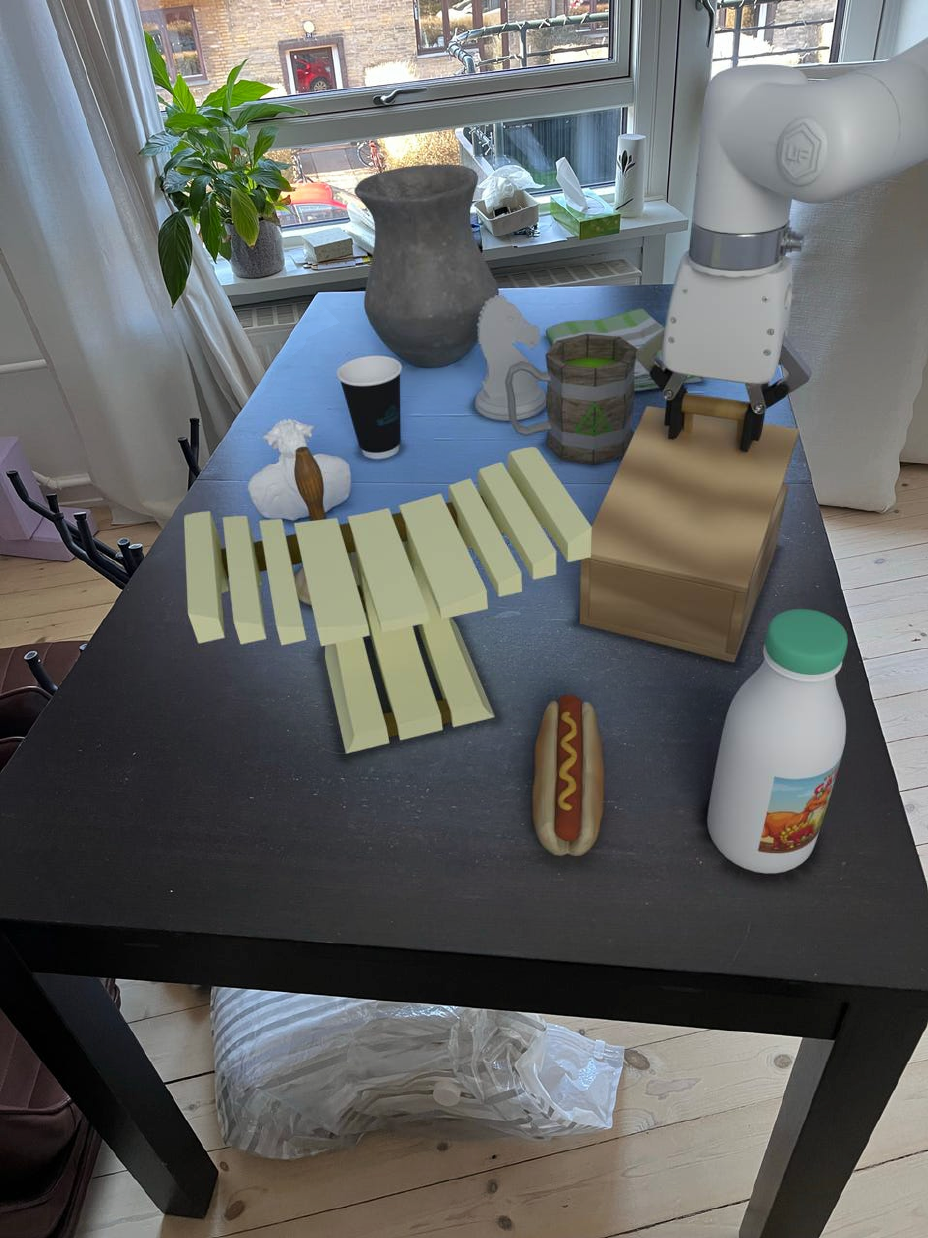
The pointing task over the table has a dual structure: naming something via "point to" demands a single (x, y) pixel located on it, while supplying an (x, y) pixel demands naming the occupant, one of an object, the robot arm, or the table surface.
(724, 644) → the box
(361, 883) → the table surface
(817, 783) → the milk bottle
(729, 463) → the lid
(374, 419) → the dixie cup
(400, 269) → the vase
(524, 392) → the chess piece
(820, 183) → the robot arm
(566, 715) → the food
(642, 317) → the dish towel
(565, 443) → the mug
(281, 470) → the white tied sack
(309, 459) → the hand bell
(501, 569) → the slatted curved stool
